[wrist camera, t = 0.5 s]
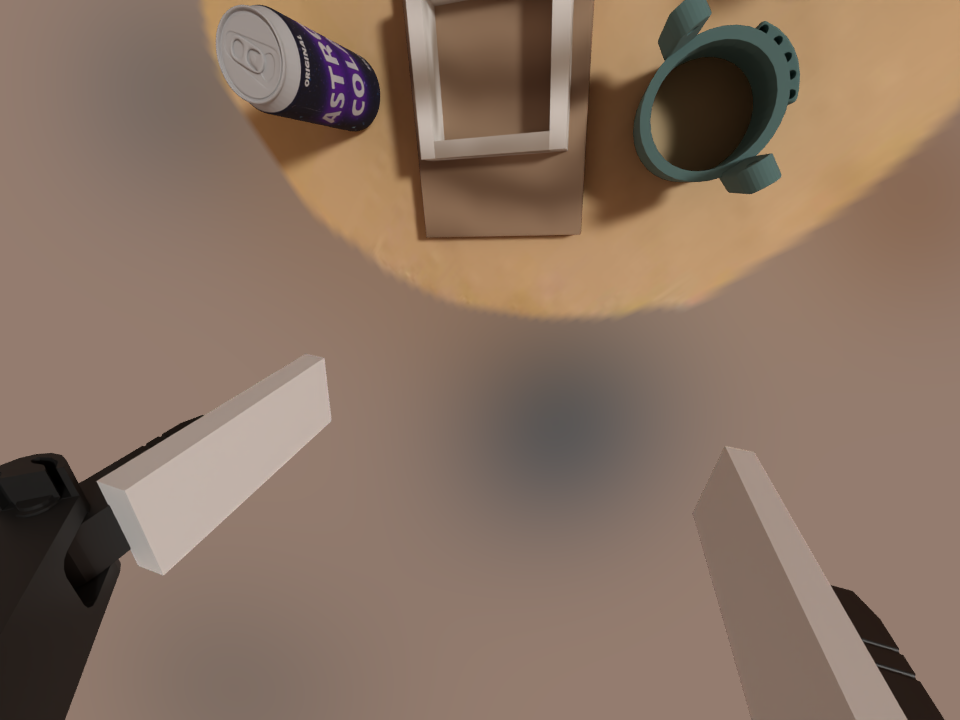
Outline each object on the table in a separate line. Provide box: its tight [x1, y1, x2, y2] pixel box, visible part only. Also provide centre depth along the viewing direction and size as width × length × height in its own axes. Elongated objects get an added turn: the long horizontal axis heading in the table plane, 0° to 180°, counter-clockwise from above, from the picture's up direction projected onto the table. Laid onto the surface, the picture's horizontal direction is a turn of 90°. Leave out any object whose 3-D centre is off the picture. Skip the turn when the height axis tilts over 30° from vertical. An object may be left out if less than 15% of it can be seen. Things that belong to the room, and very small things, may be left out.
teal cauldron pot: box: [633, 0, 800, 194], centre depth 24 cm, size 9×9×9 cm
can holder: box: [403, 0, 594, 237], centre depth 29 cm, size 24×14×4 cm, turn 3°
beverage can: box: [216, 5, 380, 131], centre depth 29 cm, size 6×6×12 cm
